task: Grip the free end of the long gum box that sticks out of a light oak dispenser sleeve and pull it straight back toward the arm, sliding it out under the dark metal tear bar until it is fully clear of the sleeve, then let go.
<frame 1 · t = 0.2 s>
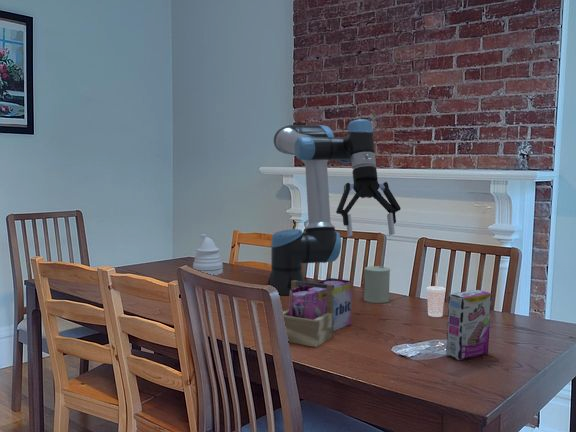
hand: (371, 235, 181), 27 cm above the table, tool tilted 15°, fingers open, 13 cm apart
beverage cup: (435, 315, 193), on the table
can: (376, 300, 213), on the table
dispenser: (305, 337, 168), on the table
candy bar box: (467, 355, 154), on the table
gum box: (320, 330, 175), on the table
honey pot: (207, 276, 256), on the table
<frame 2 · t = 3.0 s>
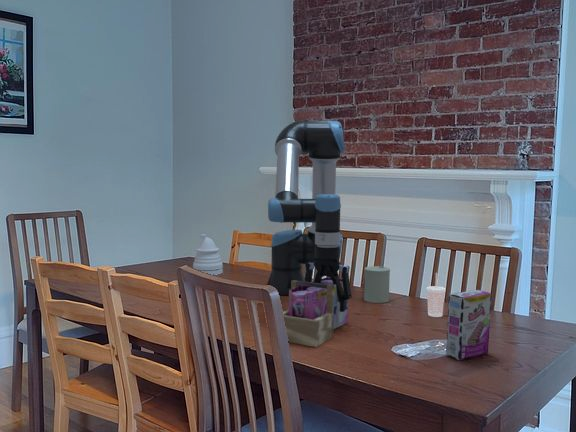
hand: (326, 319, 179), 2 cm above the table, tool pointing down, fingers closed on gum box, 8 cm apart
gum box: (319, 329, 176), on the table, touching gripper
everything else where it was.
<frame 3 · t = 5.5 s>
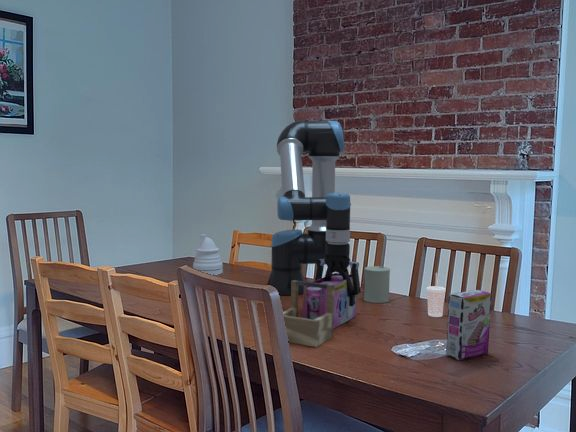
hand: (336, 314, 187), 2 cm above the table, tool pointing down, fingers closed on gum box, 8 cm apart
gum box: (330, 323, 183), on the table, touching gripper
everything else where it was.
when the fingers open (2 cm above the table, at t = 8.0 s): gum box stays where it is, on the table.
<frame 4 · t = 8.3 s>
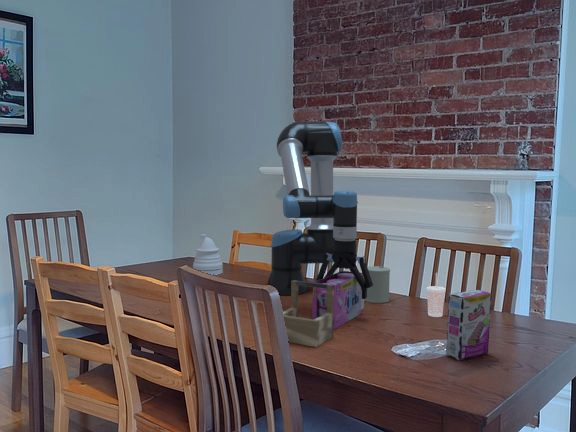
hand: (343, 306, 191), 3 cm above the table, tool pointing down, fingers open, 11 cm apart
gum box: (337, 320, 187), on the table
everything else where it was.
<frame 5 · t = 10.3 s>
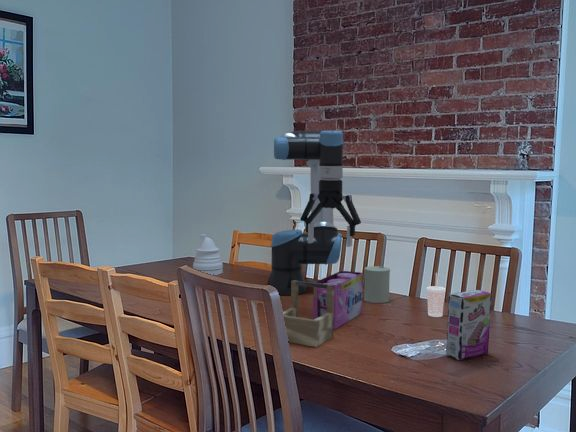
hand: (329, 244, 192), 23 cm above the table, tool pointing down, fingers open, 13 cm apart
nothing on the table moved.
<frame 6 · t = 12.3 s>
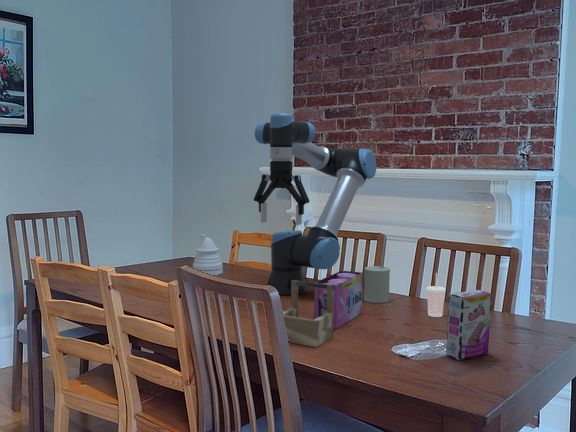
hand: (280, 223, 200), 29 cm above the table, tool pointing down, fingers open, 13 cm apart
nothing on the table moved.
at the end: gum box inside the target area (0.9 cm from its centre), on the table; gum box touching table; gum box tilted 0° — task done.
